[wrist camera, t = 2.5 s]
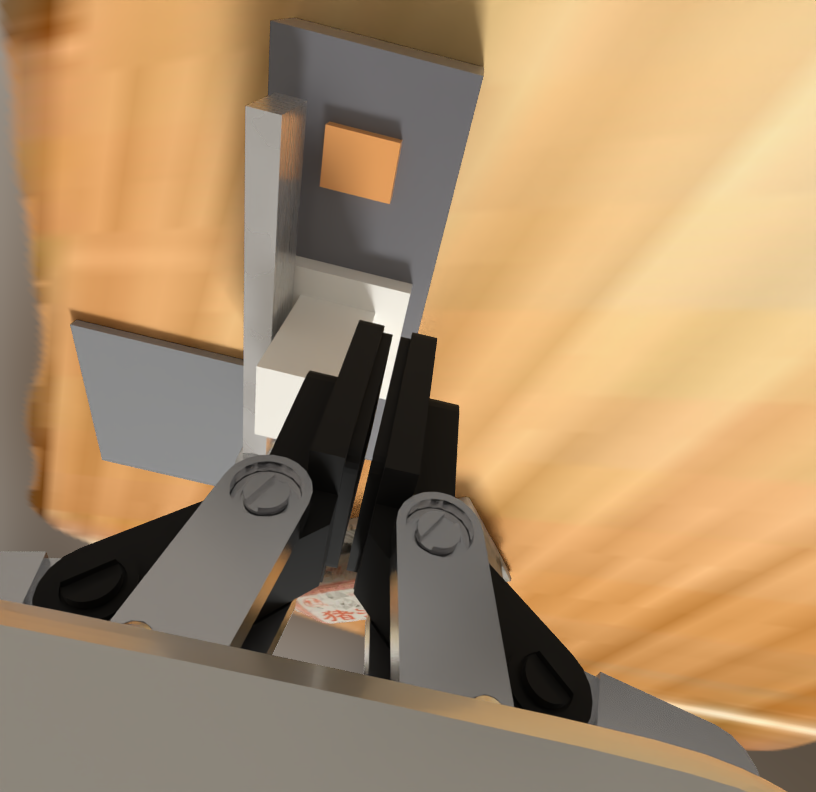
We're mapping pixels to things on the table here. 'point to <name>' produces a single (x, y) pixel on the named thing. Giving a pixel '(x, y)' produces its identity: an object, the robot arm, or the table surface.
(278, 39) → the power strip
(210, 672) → the robot arm
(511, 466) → the table surface
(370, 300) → the plug
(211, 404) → the mat
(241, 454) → the grey long bar
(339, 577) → the packaged product
